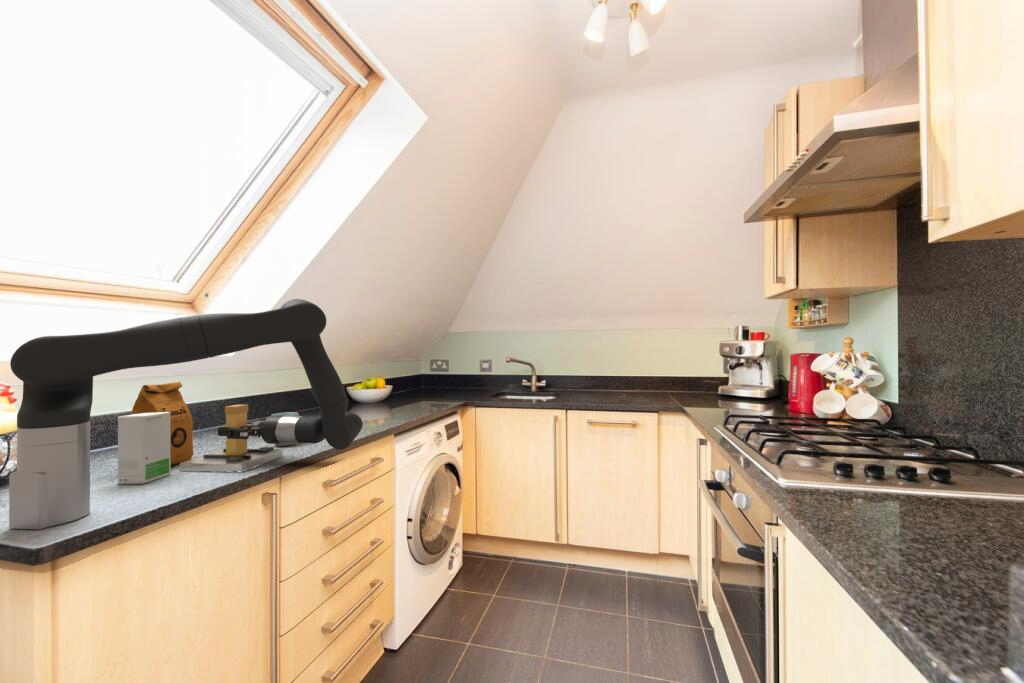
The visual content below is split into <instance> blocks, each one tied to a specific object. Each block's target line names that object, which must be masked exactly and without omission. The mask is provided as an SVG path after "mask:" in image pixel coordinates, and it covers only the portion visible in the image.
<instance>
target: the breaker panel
mask: <svg viewBox="0 0 1024 683" xmlns="http://www.w3.org/2000/svg"><path fill="white" fill-rule="evenodd" d="M281 456H282V457H283V449H282V448H275V447H274V446H262V447H258V448H247V452H245V453H242V454H239V455H226V448H223V449H222V450H218V451H215V452H212V453H209V454H203V455H202V456H199V457H196V458H191V460H188V461H184V462H181V463H179V472H198V471H211V472H210V473H228V472H227V471H244V470H247V469H249V468H252V467H254V466H257V465H260V464H262V465H264V464H263V463H265V464H267V463H269V461H270V462H272V461H274V460H273V459H275V460H277V459H279V458H278V457H280V458H282V457H281ZM276 458H277V459H276ZM271 460H272V461H271ZM266 462H267V463H266ZM260 466H261V465H260ZM257 467H258V466H257ZM254 468H255V467H254ZM252 469H253V468H252ZM249 470H250V469H249ZM217 471H218V472H217ZM224 471H225V472H224ZM247 471H248V470H247ZM244 472H245V471H244Z"/></svg>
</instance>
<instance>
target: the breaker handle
mask: <svg viewBox="0 0 1024 683" xmlns="http://www.w3.org/2000/svg"><path fill="white" fill-rule="evenodd" d="M248 413H249V404H233V405H226V406H224V414H225V427H240V426H241V425H244V424H247V423H248ZM245 428H247V427H245ZM245 428H244V429H245ZM225 449H226V455H239V454H242V453H245V452H247V449H248V439H228V438H227V436H225Z"/></svg>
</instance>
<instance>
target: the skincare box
mask: <svg viewBox="0 0 1024 683" xmlns="http://www.w3.org/2000/svg"><path fill="white" fill-rule="evenodd" d="M170 413H171V412H157V413H141V414H133V415H132V414H127V415H119V416H117V426H118V427H117V484H118V485H141V484H142V485H143V484H146V483H149V482H152V481H155V480H158V479H162V478H165V477H167V476H170V475H171V472H172V471H171V470H172V469H171V468H172V467H171V466H172V465H170V464H171V461H170V459H171V457H170Z"/></svg>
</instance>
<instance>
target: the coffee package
mask: <svg viewBox="0 0 1024 683" xmlns="http://www.w3.org/2000/svg"><path fill="white" fill-rule="evenodd" d="M182 387H183V385H182V382H181V381H177V382H174V381H173V382H169V383H160V384H143V385H142V387H141V388H140V391H139V393H138V395H137V397H136V400H135V402H134V403H133V406H132V410H131V415H133V414H141V413H157V412H171V413H170V457H171V459H170V461H171V464H170V465H171V466H175V465H177V464H180V463H182V462H185V461H189V460H192V459H193V456H194V445H193V443H194V441H193V430H194V428H193V425H194V421H193V417H192V416H193V415H192V414H191V411H190V409H189V407H188V405H187V403H186V402H185V400H184V398H183V395H182V393H181V391H179V390H180V388H182Z"/></svg>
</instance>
